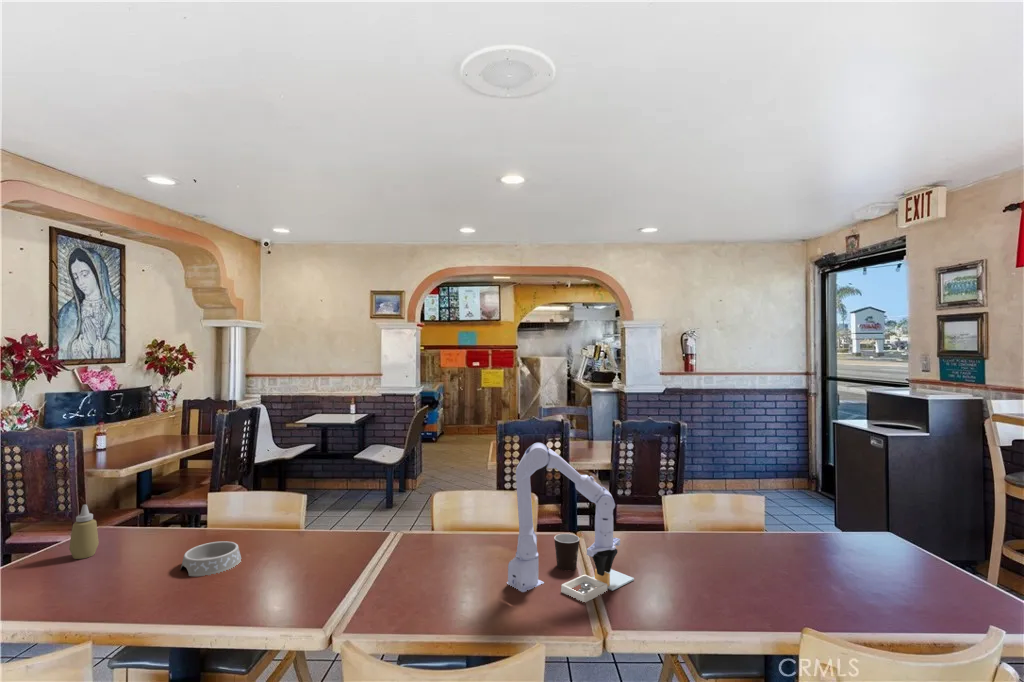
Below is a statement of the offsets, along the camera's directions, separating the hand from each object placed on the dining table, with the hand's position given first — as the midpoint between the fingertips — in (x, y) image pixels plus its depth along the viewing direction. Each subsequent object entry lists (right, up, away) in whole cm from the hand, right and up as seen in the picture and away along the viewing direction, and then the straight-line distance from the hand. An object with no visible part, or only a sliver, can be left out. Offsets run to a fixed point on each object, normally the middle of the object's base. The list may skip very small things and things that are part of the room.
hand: (603, 573), depth 164 cm
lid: (+3, -4, +3) cm, 6 cm away
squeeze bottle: (-180, -3, +19) cm, 181 cm away
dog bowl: (-131, -4, +13) cm, 132 cm away
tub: (-7, -4, -5) cm, 9 cm away
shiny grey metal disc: (-8, -4, -7) cm, 11 cm away
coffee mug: (-9, -4, +14) cm, 18 cm away
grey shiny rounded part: (-6, -4, -2) cm, 7 cm away
